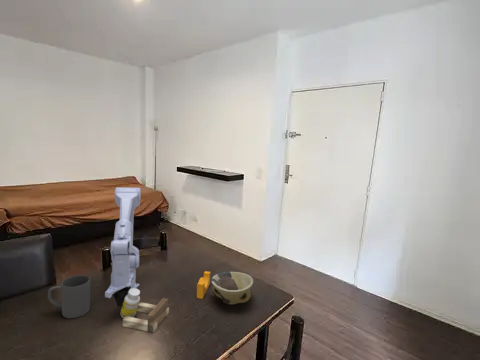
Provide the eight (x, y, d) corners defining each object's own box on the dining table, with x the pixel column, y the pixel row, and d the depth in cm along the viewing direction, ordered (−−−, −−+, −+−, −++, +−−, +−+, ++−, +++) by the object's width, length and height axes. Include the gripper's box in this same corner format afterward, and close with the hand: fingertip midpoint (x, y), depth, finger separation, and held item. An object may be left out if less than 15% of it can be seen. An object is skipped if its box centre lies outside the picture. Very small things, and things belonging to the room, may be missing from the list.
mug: (92, 302, 107) (92, 274, 106) (87, 317, 99) (86, 286, 97) (52, 306, 104) (52, 276, 102) (43, 321, 95) (42, 289, 93)
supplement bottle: (123, 307, 103) (129, 285, 101) (137, 311, 104) (144, 289, 102) (117, 317, 98) (124, 294, 96) (132, 321, 98) (139, 298, 97)
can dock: (122, 326, 95) (122, 310, 95) (140, 308, 106) (140, 293, 105) (154, 332, 93) (154, 316, 92) (168, 313, 104) (169, 299, 103)
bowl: (258, 296, 120) (259, 275, 119) (240, 318, 104) (242, 295, 102) (222, 285, 127) (223, 265, 126) (201, 304, 111) (202, 282, 110)
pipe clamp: (200, 283, 128) (201, 270, 127) (209, 285, 127) (210, 271, 126) (192, 297, 116) (193, 283, 115) (202, 299, 115) (203, 284, 114)
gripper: (118, 282, 91) (117, 319, 93) (142, 264, 106) (141, 297, 107) (99, 278, 93) (99, 315, 95) (125, 261, 107) (125, 294, 109)
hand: (120, 305), depth 101 cm, fingers closed, pressing on supplement bottle
